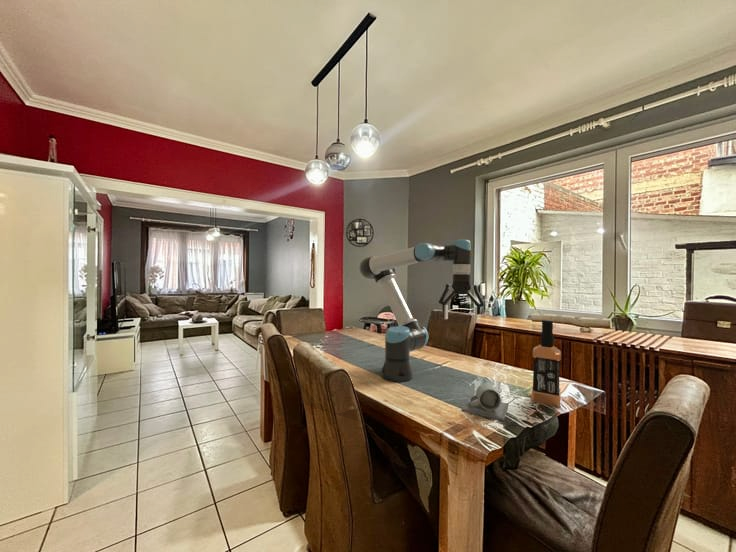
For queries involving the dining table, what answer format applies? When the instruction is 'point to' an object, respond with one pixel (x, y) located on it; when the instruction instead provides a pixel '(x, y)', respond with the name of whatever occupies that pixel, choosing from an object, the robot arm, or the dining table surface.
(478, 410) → the trivet
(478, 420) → the dining table surface
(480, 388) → the ceramic mug
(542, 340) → the whiskey bottle
